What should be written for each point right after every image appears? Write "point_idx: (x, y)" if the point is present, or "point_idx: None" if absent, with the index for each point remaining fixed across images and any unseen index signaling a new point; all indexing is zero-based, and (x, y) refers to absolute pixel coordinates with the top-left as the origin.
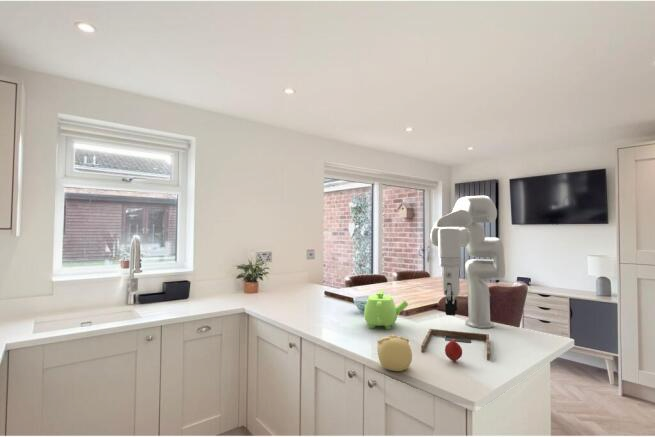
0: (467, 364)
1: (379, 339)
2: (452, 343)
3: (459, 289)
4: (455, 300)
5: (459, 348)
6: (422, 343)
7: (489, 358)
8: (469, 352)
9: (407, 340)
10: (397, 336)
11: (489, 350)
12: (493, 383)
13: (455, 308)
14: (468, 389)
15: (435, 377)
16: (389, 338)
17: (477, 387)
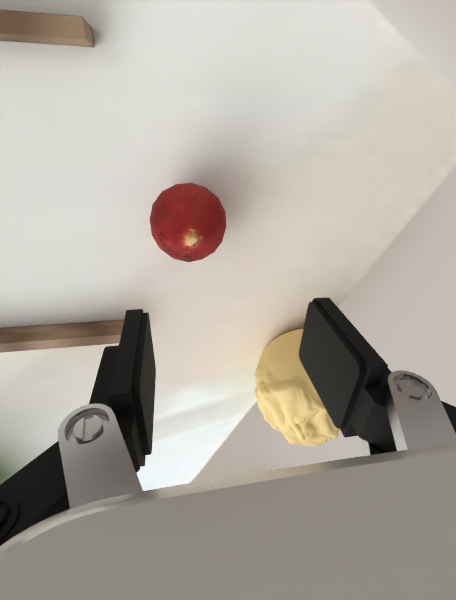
0: (196, 153)
1: (318, 444)
2: (208, 238)
3: (169, 581)
4: (140, 395)
5: (207, 200)
6: (111, 342)
7: (89, 28)
8: (28, 147)
9: (304, 388)
10: (307, 421)
11: (26, 14)
12: (366, 37)
13: (146, 330)
14: (415, 143)
15: (339, 250)
16: (337, 430)
17: (401, 110)
